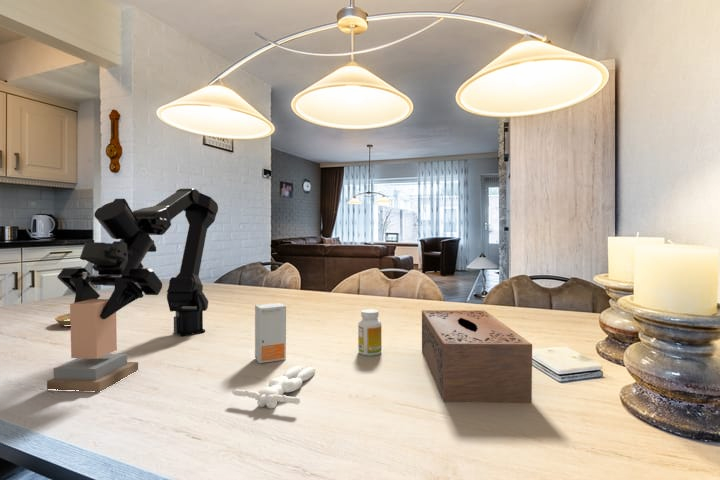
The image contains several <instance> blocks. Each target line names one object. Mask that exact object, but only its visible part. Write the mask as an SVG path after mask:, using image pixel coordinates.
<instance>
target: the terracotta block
mask: <svg viewBox="0 0 720 480" xmlns="http://www.w3.org/2000/svg"><path fill="white" fill-rule="evenodd" d="M108 300H109V298H98V299H89V300H85V301H81V302H76V303H74V302H72V303H69V313H70V323H71V327H70V353H71V354H70V356H71V357H70V358H71V359H77V358H85V359H98V358H100V357H102V356H104V355H107V354H112V353H114V352H116V351H117V350H118V342H117V340H118V338H117V336H118V335H117V332H118V331H117V312H115V313H114V314H112V315H111V316H109V317H108V318H106V319H102V318H101V317H100V315H101V313H102V311H103V309H104V307H105V305H106V303H107V302H108Z"/></svg>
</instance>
